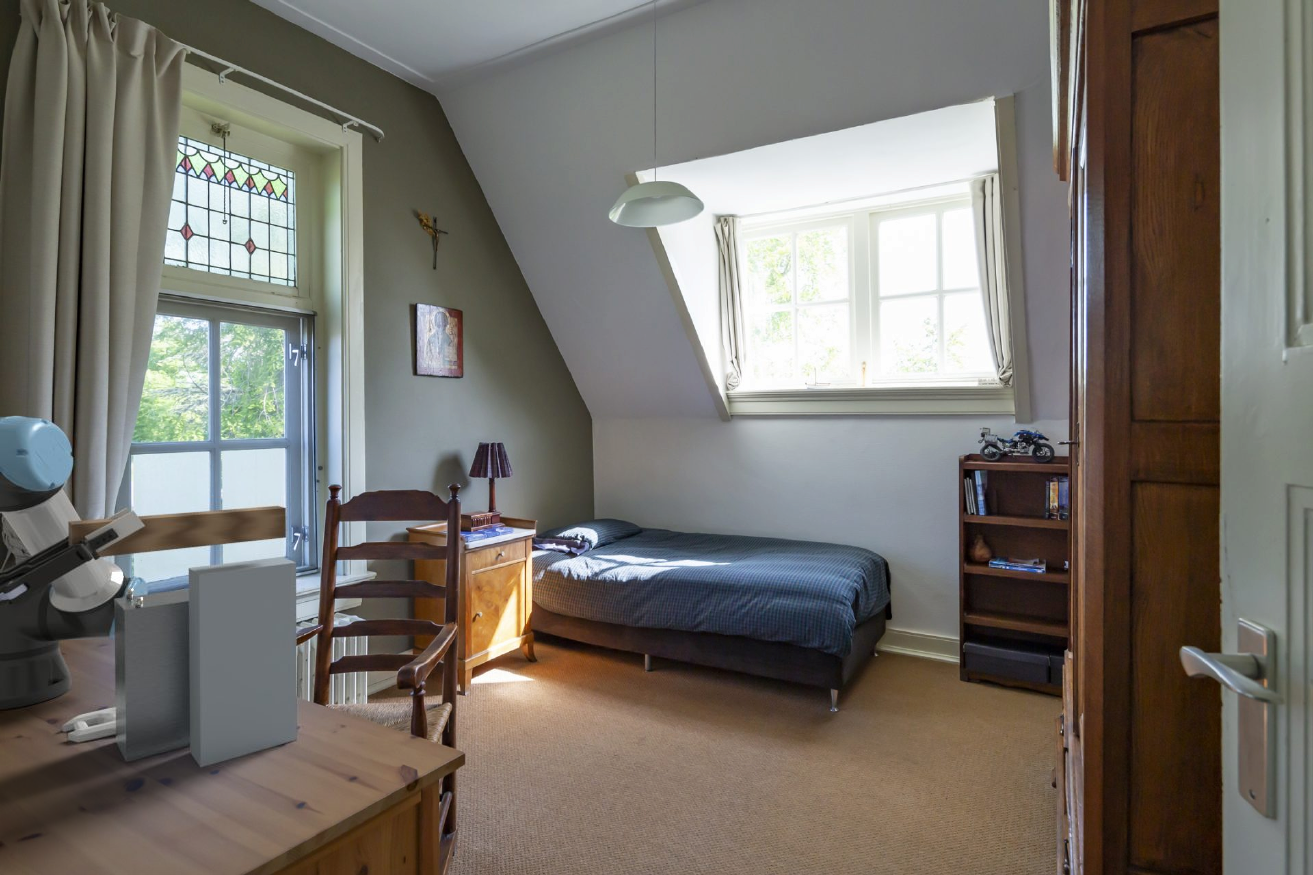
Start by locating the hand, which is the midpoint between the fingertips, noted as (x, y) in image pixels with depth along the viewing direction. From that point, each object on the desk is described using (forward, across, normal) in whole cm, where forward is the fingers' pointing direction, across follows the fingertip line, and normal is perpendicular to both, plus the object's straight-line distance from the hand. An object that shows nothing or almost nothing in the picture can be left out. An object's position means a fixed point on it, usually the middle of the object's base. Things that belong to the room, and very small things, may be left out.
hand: (135, 516), depth 108 cm
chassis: (-13, -12, -38) cm, 42 cm away
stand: (-7, 0, -41) cm, 42 cm away
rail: (+3, 0, -8) cm, 8 cm away
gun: (-18, -24, -36) cm, 46 cm away
